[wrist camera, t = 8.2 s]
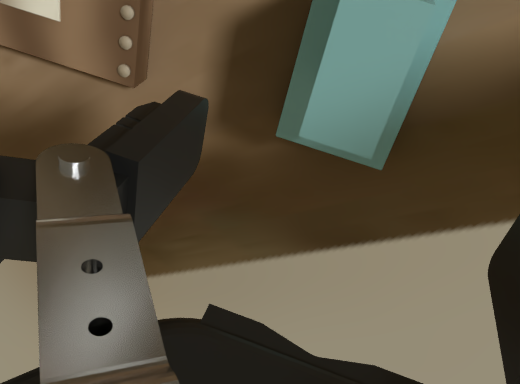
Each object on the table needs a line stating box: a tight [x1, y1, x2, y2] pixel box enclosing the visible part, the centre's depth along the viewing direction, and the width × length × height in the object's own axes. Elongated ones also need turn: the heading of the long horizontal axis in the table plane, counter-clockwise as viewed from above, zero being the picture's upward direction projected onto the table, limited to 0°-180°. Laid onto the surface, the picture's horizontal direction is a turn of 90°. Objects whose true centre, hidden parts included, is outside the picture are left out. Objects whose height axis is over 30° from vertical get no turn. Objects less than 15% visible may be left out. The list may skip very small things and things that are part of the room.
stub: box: [276, 0, 457, 170], centre depth 20 cm, size 6×13×8 cm, turn 167°
